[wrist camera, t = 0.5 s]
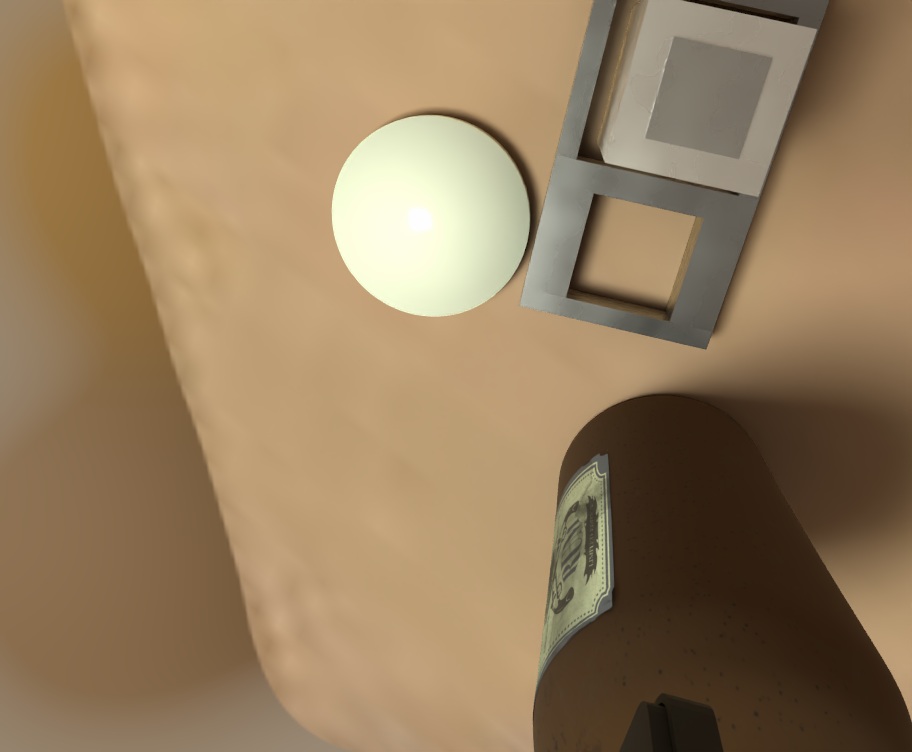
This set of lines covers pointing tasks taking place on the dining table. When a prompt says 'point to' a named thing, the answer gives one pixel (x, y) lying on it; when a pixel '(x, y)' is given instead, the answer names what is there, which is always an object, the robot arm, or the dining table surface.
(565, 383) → the dining table surface
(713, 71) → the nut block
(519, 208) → the cream dome cap
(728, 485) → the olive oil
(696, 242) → the metal rectangular frame
